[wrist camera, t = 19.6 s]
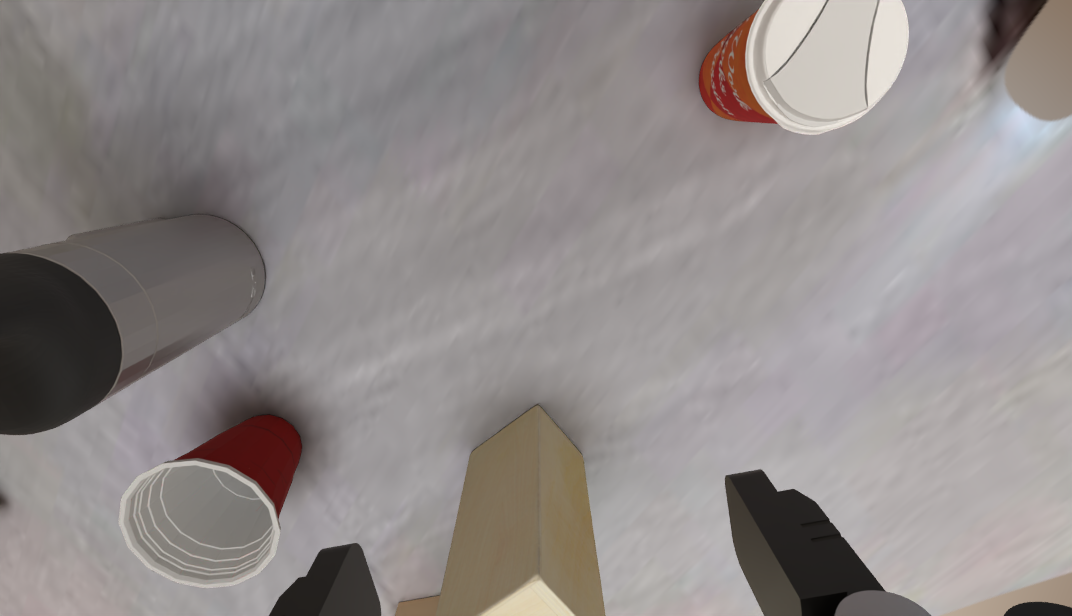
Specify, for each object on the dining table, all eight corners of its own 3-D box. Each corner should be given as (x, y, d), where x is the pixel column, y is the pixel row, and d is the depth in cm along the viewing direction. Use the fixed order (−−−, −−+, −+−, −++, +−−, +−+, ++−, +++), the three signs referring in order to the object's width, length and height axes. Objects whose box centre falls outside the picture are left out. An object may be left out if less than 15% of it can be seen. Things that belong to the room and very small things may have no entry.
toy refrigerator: (519, 509, 54) (509, 729, 34) (468, 453, 52) (424, 648, 32) (589, 461, 53) (622, 659, 32) (538, 402, 51) (539, 571, 31)
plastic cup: (272, 519, 54) (200, 621, 43) (184, 436, 52) (83, 520, 40) (358, 454, 52) (308, 541, 41) (271, 364, 50) (192, 431, 39)
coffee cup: (704, 3, 43) (791, -69, 28) (810, 36, 43) (948, -19, 29) (667, 121, 45) (730, 109, 30) (768, 150, 45) (877, 153, 31)
